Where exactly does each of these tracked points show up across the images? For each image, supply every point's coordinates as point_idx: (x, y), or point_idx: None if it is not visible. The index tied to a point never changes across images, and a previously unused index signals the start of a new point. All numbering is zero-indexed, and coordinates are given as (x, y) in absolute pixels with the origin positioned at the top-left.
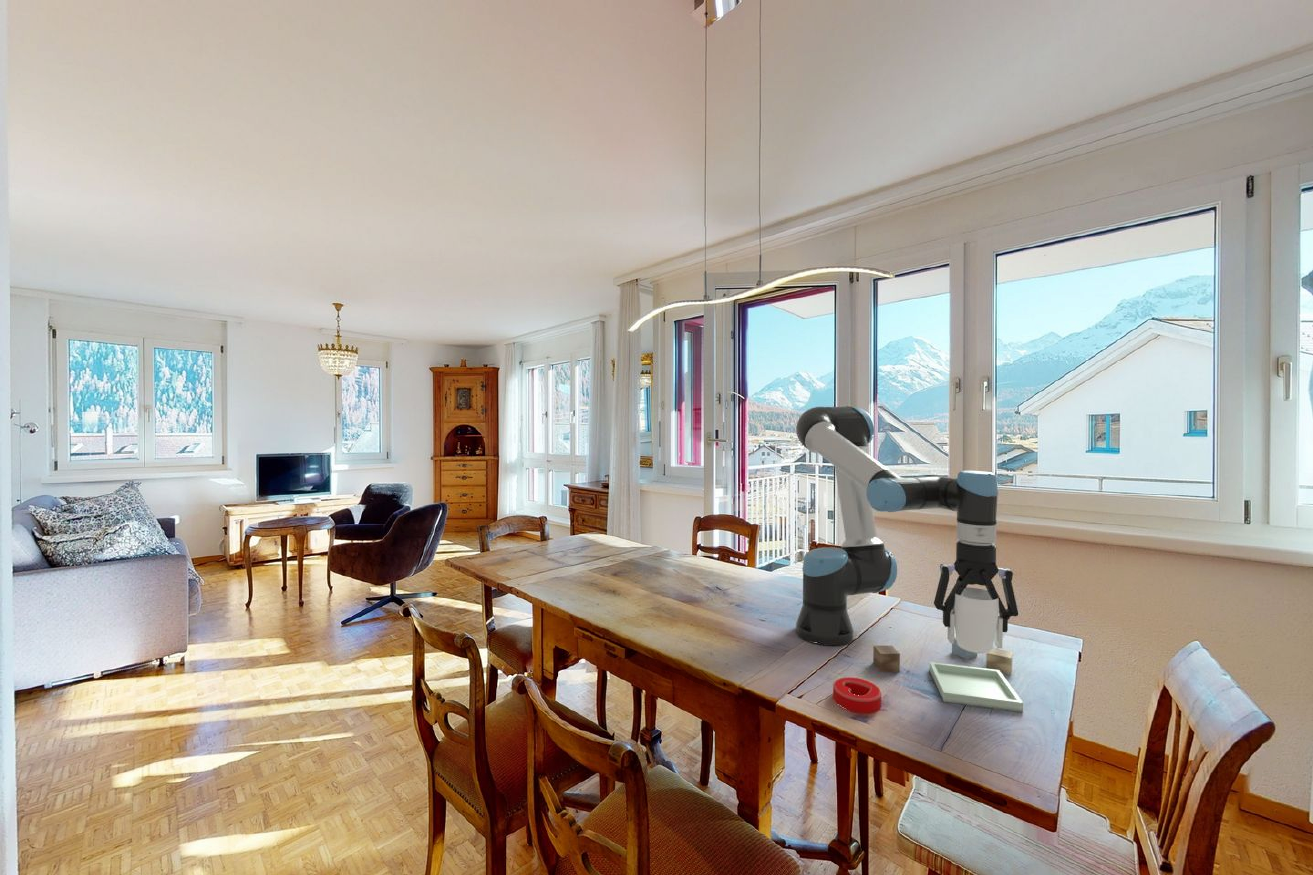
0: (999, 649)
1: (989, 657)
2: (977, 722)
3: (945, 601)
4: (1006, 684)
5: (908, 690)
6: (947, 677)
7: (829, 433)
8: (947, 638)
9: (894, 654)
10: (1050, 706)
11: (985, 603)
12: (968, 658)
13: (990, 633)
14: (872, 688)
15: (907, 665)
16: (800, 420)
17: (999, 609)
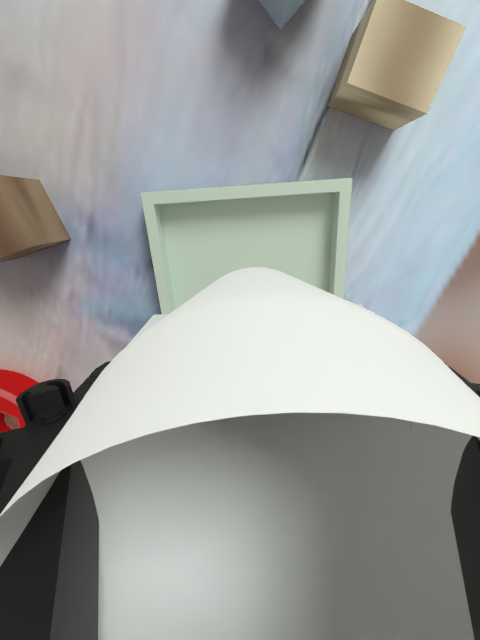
0: (420, 10)
1: (351, 92)
2: None
3: (16, 461)
4: (335, 280)
5: (103, 336)
6: (194, 244)
7: None
8: (153, 315)
9: (19, 251)
10: (408, 307)
11: None
12: (289, 18)
13: (314, 440)
14: (20, 423)
15: (86, 180)
16: None
17: (454, 516)
